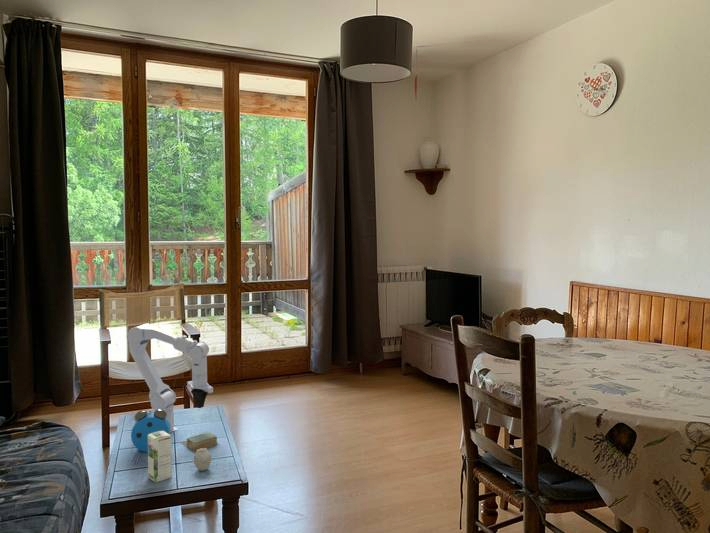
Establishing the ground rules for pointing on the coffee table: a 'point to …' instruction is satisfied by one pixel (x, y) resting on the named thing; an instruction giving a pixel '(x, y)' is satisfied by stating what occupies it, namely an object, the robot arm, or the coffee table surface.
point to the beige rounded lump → (202, 459)
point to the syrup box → (159, 456)
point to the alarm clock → (148, 427)
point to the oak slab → (201, 441)
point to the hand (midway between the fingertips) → (200, 407)
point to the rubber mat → (191, 449)
